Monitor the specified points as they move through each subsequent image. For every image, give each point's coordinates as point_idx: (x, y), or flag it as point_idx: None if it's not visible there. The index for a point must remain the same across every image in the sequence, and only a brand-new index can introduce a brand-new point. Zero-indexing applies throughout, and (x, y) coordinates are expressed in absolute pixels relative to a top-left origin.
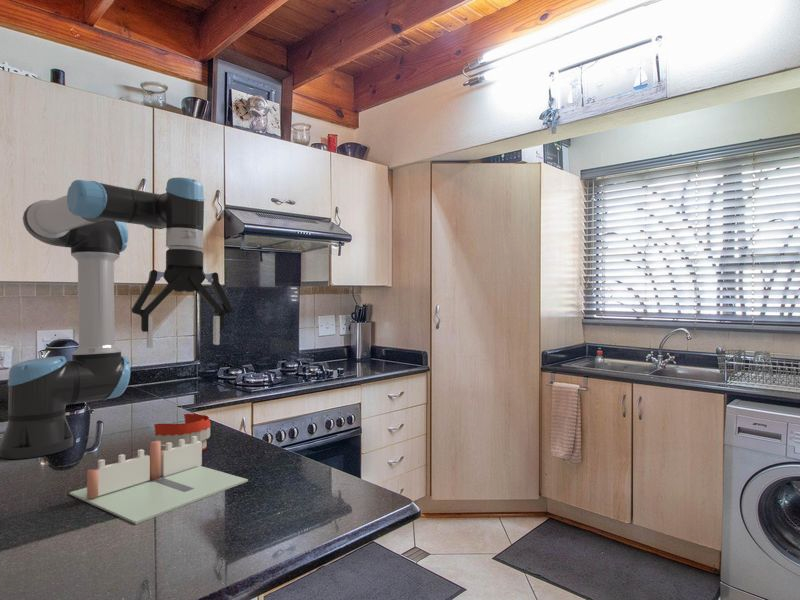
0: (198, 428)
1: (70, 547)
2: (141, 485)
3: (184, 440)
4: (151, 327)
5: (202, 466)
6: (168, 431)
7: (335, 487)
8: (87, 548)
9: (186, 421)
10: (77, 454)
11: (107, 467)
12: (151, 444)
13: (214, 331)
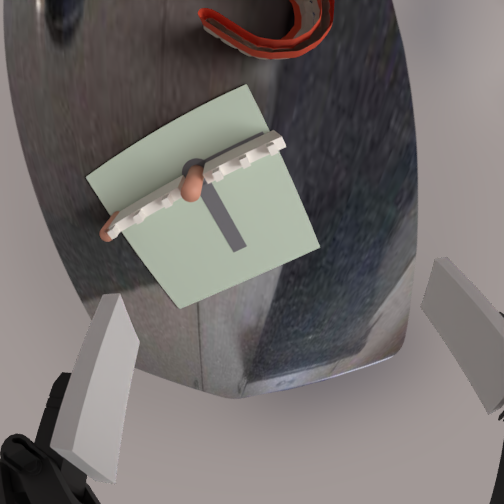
0: (297, 54)
1: None
2: None
3: (249, 165)
4: (117, 427)
5: None
6: (229, 40)
7: (383, 306)
8: (146, 330)
9: None
10: None
11: (123, 229)
12: (183, 198)
13: (462, 325)
